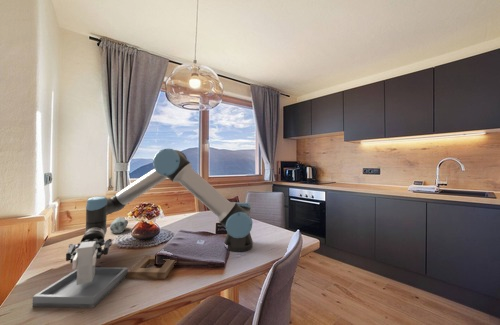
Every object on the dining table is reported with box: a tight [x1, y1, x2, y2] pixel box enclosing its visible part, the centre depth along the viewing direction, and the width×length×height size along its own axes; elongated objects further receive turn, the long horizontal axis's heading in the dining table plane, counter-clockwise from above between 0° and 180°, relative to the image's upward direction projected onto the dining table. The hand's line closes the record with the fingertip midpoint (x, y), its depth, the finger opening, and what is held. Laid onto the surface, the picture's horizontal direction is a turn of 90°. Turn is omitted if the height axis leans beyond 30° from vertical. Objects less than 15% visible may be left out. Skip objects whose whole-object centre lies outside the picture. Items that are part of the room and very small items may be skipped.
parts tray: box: [32, 266, 129, 308], centre depth 72 cm, size 18×18×3 cm
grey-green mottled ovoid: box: [109, 216, 129, 234], centre depth 132 cm, size 14×10×10 cm
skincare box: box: [76, 241, 96, 285], centre depth 72 cm, size 6×4×12 cm
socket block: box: [126, 255, 175, 280], centre depth 86 cm, size 14×14×2 cm
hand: (84, 262), depth 68 cm, fingers closed on skincare box, 4 cm apart
